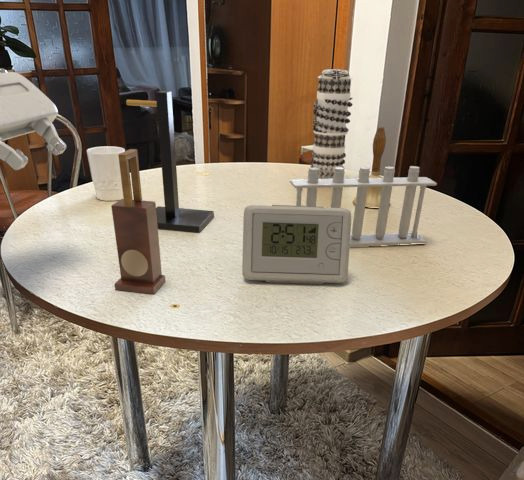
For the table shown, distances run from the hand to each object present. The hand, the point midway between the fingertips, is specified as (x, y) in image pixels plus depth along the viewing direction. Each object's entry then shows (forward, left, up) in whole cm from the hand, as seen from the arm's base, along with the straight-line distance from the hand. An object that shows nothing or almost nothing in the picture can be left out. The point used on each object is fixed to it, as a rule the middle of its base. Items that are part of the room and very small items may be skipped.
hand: (43, 158), depth 69 cm
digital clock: (+35, -1, -17) cm, 39 cm away
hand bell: (+57, +39, -17) cm, 71 cm away
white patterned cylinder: (+50, +58, -17) cm, 78 cm away
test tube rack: (+48, +14, -17) cm, 53 cm away
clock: (+12, -3, -17) cm, 21 cm away
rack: (+14, +26, -17) cm, 34 cm away
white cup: (-1, +43, -17) cm, 46 cm away
